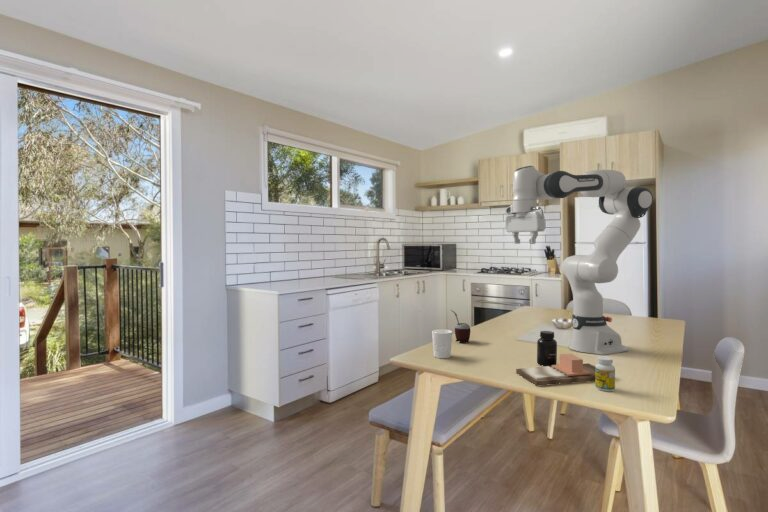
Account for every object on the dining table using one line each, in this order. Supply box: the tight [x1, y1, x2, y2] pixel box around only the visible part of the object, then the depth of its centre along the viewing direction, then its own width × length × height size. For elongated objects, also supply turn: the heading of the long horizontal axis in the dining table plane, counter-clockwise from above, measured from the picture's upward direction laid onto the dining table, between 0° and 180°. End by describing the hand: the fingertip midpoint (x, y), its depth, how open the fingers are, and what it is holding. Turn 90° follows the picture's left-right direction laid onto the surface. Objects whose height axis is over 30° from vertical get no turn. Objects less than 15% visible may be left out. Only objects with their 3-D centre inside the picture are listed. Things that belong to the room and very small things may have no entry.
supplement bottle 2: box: [594, 356, 616, 393], centre depth 130 cm, size 5×5×10 cm
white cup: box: [431, 328, 453, 359], centre depth 168 cm, size 8×8×10 cm
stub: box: [552, 353, 591, 376], centre depth 143 cm, size 8×10×5 cm
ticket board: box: [515, 363, 596, 387], centre depth 143 cm, size 28×13×2 cm, turn 101°
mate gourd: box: [450, 309, 471, 344], centre depth 190 cm, size 8×8×15 cm
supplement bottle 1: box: [536, 330, 558, 367], centre depth 156 cm, size 7×7×12 cm
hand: (524, 243), depth 166 cm, fingers open, 8 cm apart
